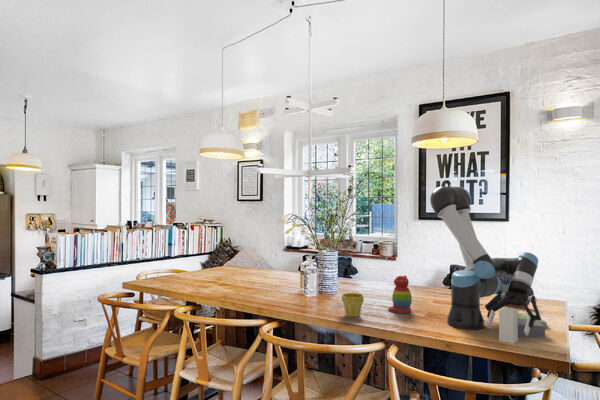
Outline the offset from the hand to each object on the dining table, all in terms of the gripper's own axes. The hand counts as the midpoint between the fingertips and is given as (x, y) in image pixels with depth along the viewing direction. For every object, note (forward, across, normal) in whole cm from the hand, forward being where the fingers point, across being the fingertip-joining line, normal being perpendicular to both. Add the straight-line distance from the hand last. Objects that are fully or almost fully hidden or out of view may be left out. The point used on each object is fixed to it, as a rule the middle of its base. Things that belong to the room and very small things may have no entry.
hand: (506, 329), depth 153 cm
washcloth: (-21, +5, -29) cm, 36 cm away
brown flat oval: (-39, +19, -47) cm, 64 cm away
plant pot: (+14, +65, +7) cm, 67 cm away
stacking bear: (-3, +53, -10) cm, 54 cm away
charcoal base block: (-9, -1, -16) cm, 19 cm away
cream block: (+2, 0, -5) cm, 5 cm away
